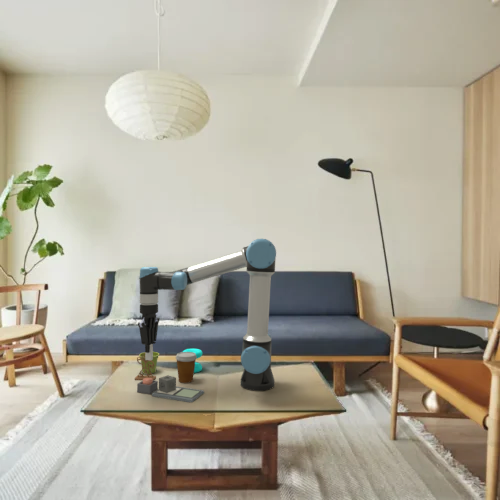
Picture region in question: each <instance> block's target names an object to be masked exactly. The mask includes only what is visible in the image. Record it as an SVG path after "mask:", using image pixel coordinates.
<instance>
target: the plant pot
mask: <svg viewBox="0 0 500 500" xmlns="http://www.w3.org/2000/svg"><path fill="white" fill-rule="evenodd" d="M144 353H145V351H144V352H141V353H140V354H139V355H138V357H141V359H142V355H143V356H144V355H145V354H144ZM159 356H160V353H159V352H157V351H153V360H151V361H152V362H153V363H154V366H151V367H154V368H150V365H153V363H152V362H150V361H148V362H147V364H146V368H148V364H150V365H149V370H150V371H151V373H152V374H155V373H156V371H157V364H158V359H159ZM143 358H145V357H143ZM142 360H143V359H142ZM144 360H145V359H144ZM140 363H141V364H143V367H145V363H144V361H141V360H140ZM141 364H140V365H141ZM141 370H142V371H141V373H143V374H144V375H147V374H146V372H147V373H148V375H149V374H150V372H149V370H148V369H142V368H141ZM145 370H146V372H145ZM144 372H145V373H144Z"/></svg>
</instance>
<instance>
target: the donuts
mask: <svg viewBox="0 0 500 500" xmlns="http://www.w3.org/2000/svg"><path fill="white" fill-rule="evenodd" d="M182 352H193V353H195V354H196V356H197V358H196V360H198V359H199V358H202V356H203V354H204V353H203V351H202V350H201V349H199V348H193V347H192V348H186V349H184V350H182ZM202 370H203V365H202V364H201V362H197V361H195V368H194V374H197V373H199V372H201V371H202Z"/></svg>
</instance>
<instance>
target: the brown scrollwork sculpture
mask: <svg viewBox="0 0 500 500" xmlns="http://www.w3.org/2000/svg"><path fill="white" fill-rule="evenodd" d="M143 353H144V352H143ZM144 354H145V353H144ZM143 357H145V355H144V356H143V355H142V359H143V360H142V359H141V357H140V356H137V357H136V362H137V363H138V364H139V365H141V370H140V372H139V373H138V375H137V376H135V377H134V381H143V379H144V378H152V379H153V380H154V381H156V379H157V376H156V375H153V373H151V371H150V370H149V365H150V364H148V368H146V364H147V362H148V361H150V362H152V361H151V360H144V359H145V358H143ZM139 361H140V362H139ZM141 361H144V363H145V367H143V364H141ZM152 363H153V362H152ZM151 366H154V363H153V365H150V368H154V367H151ZM142 369H148V370H149V372H150V374H148V373H147V372H146V370H145V372H146V374H144V373H145V372H144V373H143V374H142Z"/></svg>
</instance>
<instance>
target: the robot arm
mask: <svg viewBox="0 0 500 500" xmlns="http://www.w3.org/2000/svg"><path fill="white" fill-rule="evenodd" d="M276 258H277V249H276V247H275V244H274V243H273V242H272V241H270V240H269V239H266V238H257V239H253V240H252V241H251V242H249V244H248V245H247V246H243V247H242V248H241V250H239V251H236V252H233V253H229V254H226V255H223V256H219V257H216V258H213V259H211V260H207V261H204V262H203V261H202V262H201V263H197V264H194V265H191V266H188V267H185V268H181V269H178V270H175V271H159V267H157V266H144V267H143V266H142V267H141V268H140V269H139V278H138V279H139V303H140V304H139V313H140V314H141V320H140V321H139V322H138V323H137V326H138V328H139V329H138V330H139V334H140V342H141V343H140V344H142V345H144V352H145V360H153V352H154V344H156V341H157V337H158V330H159V323H160V320H161V319H160V317H157V313H158V312H159V304H158V303H159V290H160V291H161V290H166V291H168V290H169V291H181V290H182V291H183V290H185V289H186V288H187V286H189V285H191V284H194V283H197V282H200V281H204V280H208V279H211V278H214V277H218V276H221V275H224V274H228V273H231V272H234V271H237V270H241V269H244V268H246V273H247V274H248V275H249V285H248V286H249V288H248V308H247V309H248V310H247V327H246V328H247V329H246V334H245V335H244V336H243V337H242V352H241V355H240V362H241V365H242V367H243V370H242V374H241V377H240V386H241V387H242V388H244V389H246V390H249V391H268V390H271V389H273V388H274V387H275V377H274V375H273V371H272V341H273V340H272V334H270V333H269V322H270V321H269V317H270V304H271V303H270V302H271V301H270V300H271V282H272V280H271V278H272V276H273V275H274V274H275V272H276V260H277V259H276ZM272 387H273V388H272ZM270 388H271V389H270ZM267 389H268V390H267Z"/></svg>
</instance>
